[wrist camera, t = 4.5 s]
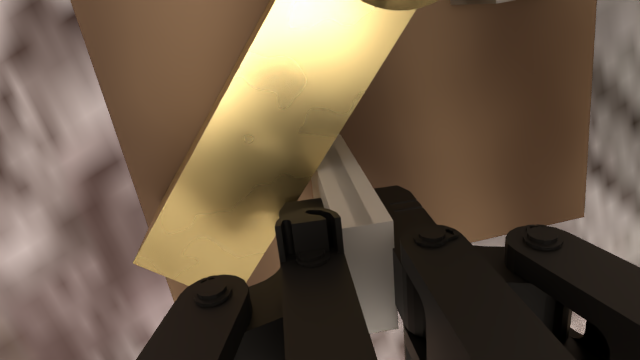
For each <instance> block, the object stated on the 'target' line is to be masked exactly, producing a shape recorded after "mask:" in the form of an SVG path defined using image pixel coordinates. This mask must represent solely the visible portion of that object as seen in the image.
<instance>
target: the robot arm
mask: <svg viewBox="0 0 640 360" xmlns="http://www.w3.org/2000/svg"><path fill="white" fill-rule="evenodd" d="M311 180H312V188H313V197H314V199H308V200H301V201H294V202H287V203H285V204H284V206H283V207H282V208H281V209H280V211H279V219H278V220H277V221H276V224H275V233H276V240H277V246H278V253H279V259H280V268H279V270H278V271H277V272H276V273H275V274H274V275H272V276H271V277H269V278H268V279H266V280H264V281H262V282H260V283H257V284H255V285H252V286H249V287H248V285H247V284H246V282H245V280H244V279H242V278H240V277H238V276H235V275H226V274H223V275H213V276H209V277H207V278H206V277H205V278H203V279H200V280H198V281H196V282H195V283H193V284H191V285H190V286H188V287H187V288H186V289H185V290H184V291H183V292H182V293H181V294H180V295H179V297H178V298H177V300H176V301H175V303H174V304H173V305H172V307H171V308H170V310H169V311H168V313H167V314H166V316H165V317H164V319H163V320H162V322H161V323H160V325H159V326H158V328H157V329H156V331H155V332H154V334H153V335H152V337H151V338H150V340H149V341H148V343H147V344H146V346H145V347H144V349H143V350H142V352H141V353H140V355H139V356H138V358H137V359H136V360H377V357H376V354H375V350H374V347H373V344H372V341H371V338H370V334H371V333H377V332H381V331H387V330H393V329H398V312H399V314H400V316H401V318H402V320H403V324H404V349H405V360H640V267H638V266H635V265H633V264H631V263H629V262H627V261H625V260H623V259H621V258H619V257H617V256H615V255H613V254H611V253H609V252H607V251H605V250H603V249H601V248H599V247H597V246H595V245H593V244H591V243H589V242H587V241H585V240H583V239H581V238H579V237H576V236H574V235H572V234H570V233H568V232H566V231H563V230H560V229H558V228H554V227H549V226H545V225H539V224H536V225H535V224H533V225H526V226H521V227H516V228H515V229H513V230H511V231H509V232H508V234H507V236H506V241H505V247H488V246H473V245H472V244H471V243H470V242H469V241H468V240H467V239H466V237H465V236H464V235H463V234H462V233H460V232H459V231H457V230H456V229H454V228H451V227H448V226H445V225H437V224H436V223H435V222H434V220H433V219H432V218H431V217H430V215H429V214H428V213H427V212H426V210H425V209H424V208H422V205H421V204H420V203H419V202H418V201H417V199H416V198H415V197H414V195H413V194H412V193H411V192H410V191H409V190H407V189H404V188H402V187H400V186H398V185H395V186H388V187H381V188H373V187H372V185H371V184H370V182H369V180H368V179H367V177H366V175H365V174H364V172H363V171H362V169H361V167H360V166H359V164H358V162H357V161H356V159H355V157H354V156H353V154H352V153H351V151H350V149H349V148H348V146H347V144H346V143H345V141H344V139H343V138H342V136H341V135H340V134H339V135H338V136H337V138H336V139H335V141H334V142H333V144H332V146H331V147H330V149H329V150H328V152H327V154H326V155H325V157H324V159H323V160H322V162H321V163H320V165H319V167H318V168H317V170H316V171H315V173H314V175H313V176H312V178H311ZM397 309H398V311H397ZM572 311H573V312H575V313H576V314H578V315H580V316H581V317H583V318H584V319H586V320H587V322H586V329H585V333H584V335H582V334H580V333H578V332H576V331H574V330H573V329H572V328H570V323H571V315H572Z"/></svg>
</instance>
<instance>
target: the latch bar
mask: <svg viewBox="0 0 640 360" xmlns="http://www.w3.org/2000/svg"><path fill="white" fill-rule="evenodd" d="M437 1H439V0H270V1H269V2H268V4H267V6H266V8H265V10H264V12H263V13H262V15H261V17H260V19H259V21H258V23H257V25H256V26H255V28H254V30H253V32H252V34H251V36H250V38H249V39H248V41H247V43H246V45H245V47H244V49H243V51H242V52H241V54H240V56H239V58H238V60H237V62H236V63H235V65H234V67H233V69H232V71H231V73H230V75H229V76H228V78H227V80H226V82H225V84H224V86H223V88H222V89H221V91H220V93H219V95H218V97H217V99H216V101H215V102H214V104H213V106H212V108H211V110H210V112H209V113H208V115H207V117H206V119H205V121H204V123H203V125H202V126H201V128H200V130H199V132H198V134H197V136H196V138H195V139H194V141H193V143H192V145H191V147H190V149H189V151H188V152H187V154H186V156H185V158H184V160H183V162H182V164H181V165H180V167H179V169H178V171H177V173H176V175H175V176H174V178H173V180H172V182H171V184H170V186H169V188H168V189H167V191H166V193H165V195H164V197H163V199H162V201H161V202H160V204H159V206H158V209H157V211H156V213H155V215H154V217H153V220H152V222H151V224H150V226H149V229H148V231H147V233H146V235H145V237H144V240H143V242H142V244H141V246H140V248H139V251H138V253H137V255H136V257H135V260H134V262H133V264H136V265H138V266H141V267H143V268H146V269H148V270H150V271H153V272H155V273H158V274H160V275H163V276H165V277H168V278H170V279H173V280H175V281H178V282H180V283H183V284H185V285H188V286H190V285H191V284H193V283H195V282H196V281H198V280H200V279H203V278H205V277H206V278H207V277H209V276H213V275H223V274H226V275H235V276H238V277H240V278H242V279H244V280H245V282H247V280H248V279H249V277H250V276H251V274H252V272H253V271H254V269H255V268H256V266H257V264H258V263H259V261H260V260H261V258H262V256H263V255H264V253H265V252H266V250H267V248H268V247H269V245H270V244H271V242H272V240H273V239H274V237H275V236H276V233H275V224H276V221H277V220H278V219H279V211H280V209H281V208H282V207H283V206H284V204H285V203H287V202H294V201H297V200H298V199H299V197H300V195H301V194H302V192H303V191H304V189H305V187H306V186H307V184H308V183H309V181H310V179H311V178H312V176H313V175H314V173H315V171H316V170H317V168H318V167H319V165H320V163H321V162H322V160H323V159H324V157H325V155H326V154H327V152H328V150H329V149H330V147H331V146H332V144H333V142H334V141H335V139H336V138H337V136H338V134H339V133H340V131H341V130H342V128H343V126H344V125H345V123H346V122H347V120H348V118H349V117H350V115H351V114H352V112H353V110H354V109H355V107H356V106H357V104H358V102H359V101H360V99H361V98H362V96H363V94H364V93H365V91H366V89H367V88H368V86H369V85H370V83H371V81H372V80H373V78H374V77H375V75H376V73H377V72H378V70H379V69H380V67H381V65H382V64H383V62H384V61H385V59H386V57H387V56H388V54H389V53H390V51H391V49H392V48H393V46H394V45H395V43H396V41H397V40H398V38H399V37H400V35H401V33H402V32H403V30H404V29H405V27H406V25H407V24H408V22H409V20H410V19H411V17H412V16H413V14H414V12H415V11H416V9H418V8H422V7H425V6H428V5H431V4H433V3H435V2H437Z"/></svg>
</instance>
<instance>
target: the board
mask: <svg viewBox="0 0 640 360" xmlns="http://www.w3.org/2000/svg"><path fill="white" fill-rule="evenodd" d="M269 1H270V0H71V3H72V6H73V9H74V12H75V15H76V18H77V21H78V24H79V27H80V29H81V32H82V35H83V38H84V41H85V44H86V47H87V50H88V53H89V56H90V59H91V61H92V64H93V67H94V70H95V73H96V76H97V79H98V82H99V85H100V88H101V91H102V93H103V96H104V99H105V102H106V105H107V108H108V111H109V114H110V117H111V120H112V123H113V125H114V128H115V131H116V134H117V137H118V140H119V143H120V146H121V149H122V152H123V155H124V157H125V160H126V163H127V166H128V169H129V172H130V175H131V178H132V181H133V184H134V187H135V189H136V192H137V195H138V198H139V201H140V204H141V207H142V210H143V213H144V216H145V219H146V221H147V224H148V227H149V226H150V224H151V222H152V220H153V217H154V215H155V213H156V211H157V209H158V206H159V204H160V202H161V201H162V199H163V197H164V195H165V193H166V191H167V189H168V188H169V186H170V184H171V182H172V180H173V178H174V176H175V175H176V173H177V171H178V169H179V167H180V165H181V164H182V162H183V160H184V158H185V156H186V154H187V152H188V151H189V149H190V147H191V145H192V143H193V141H194V139H195V138H196V136H197V134H198V132H199V130H200V128H201V126H202V125H203V123H204V121H205V119H206V117H207V115H208V113H209V112H210V110H211V108H212V106H213V104H214V102H215V101H216V99H217V97H218V95H219V93H220V91H221V89H222V88H223V86H224V84H225V82H226V80H227V78H228V76H229V75H230V73H231V71H232V69H233V67H234V65H235V63H236V62H237V60H238V58H239V56H240V54H241V52H242V51H243V49H244V47H245V45H246V43H247V41H248V39H249V38H250V36H251V34H252V32H253V30H254V28H255V26H256V25H257V23H258V21H259V19H260V17H261V15H262V13H263V12H264V10H265V8H266V6H267V4H268V2H269ZM596 5H597V0H439V1H437V2H435V3H433V4H431V5H428V6H425V7H422V8H418V9H416V11H415V12H414V14H413V16H412V17H411V19H410V20H409V22H408V24H407V25H406V27H405V29H404V30H403V32H402V33H401V35H400V37H399V38H398V40H397V41H396V43H395V45H394V46H393V48H392V49H391V51H390V53H389V54H388V56H387V57H386V59H385V61H384V62H383V64H382V65H381V67H380V69H379V70H378V72H377V73H376V75H375V77H374V78H373V80H372V81H371V83H370V85H369V86H368V88H367V89H366V91H365V93H364V94H363V96H362V98H361V99H360V101H359V102H358V104H357V106H356V107H355V109H354V110H353V112H352V114H351V115H350V117H349V118H348V120H347V122H346V123H345V125H344V126H343V128H342V130H341V131H340V133H339V134H340V135H341V136H342V138H343V139H344V141H345V143H346V144H347V146H348V148H349V149H350V151H351V153H352V154H353V156H354V157H355V159H356V161H357V162H358V164H359V166H360V167H361V169H362V171H363V172H364V174H365V175H366V177H367V179H368V180H369V182H370V184H371V185H372V187H373V188H381V187H388V186H395V185H398V186H400V187H402V188H404V189H407V190H409V191H410V192H411V193H412V194H413V195H414V197H415V198H416V199H417V201H418V202H419V203H420V204H421V205H422V208H424V209H425V210H426V212H427V213H428V214H429V215H430V217H431V218H432V219H433V220H434V222H435V223H436V224H437V225H445V226H448V227H451V228H454V229H456V230H457V231H459V232H460V233H462V234H463V235H464V236H465V237H466V239H467V240H468V241H469V242H470V243H471V242H475V241H480V240H484V239H489V238H493V237H497V236H502V235H506V234H508V232H509V231H511V230H513V229H515V228H516V227H521V226H526V225H533V224H535V225H536V224H539V225H545V226H546V225H550V224H555V223H559V222H564V221H568V220H572V219H577V218H581V217H584V209H585V192H586V175H587V158H588V141H589V124H590V107H591V90H592V73H593V56H594V39H595V22H596ZM339 134H338V135H339ZM308 199H314V197H313V188H312V180H311V179H310V181H309V183H308V184H307V186H306V187H305V189H304V191H303V192H302V194H301V195H300V197H299V199H298V200H297V201H301V200H308ZM279 268H280V259H279V253H278V246H277V240H276V236H275V237H274V239H273V240H272V242H271V244H270V245H269V247H268V248H267V250H266V252H265V253H264V255H263V256H262V258H261V260H260V261H259V263H258V264H257V266H256V268H255V269H254V271H253V272H252V274H251V276H250V277H249V279H248V280H247V282H246V284H247V285H248V287H249V286H252V285H255V284H257V283H260V282H262V281H264V280H266V279H268V278H269V277H271V276H272V275H274V274H275V273H276V272H277V271H278V270H279ZM166 280H167V283H168V285H169V288H170V291H171V294H172V297H173V300H174V303H175V301H176V300H177V298H178V297H179V295H180V294H181V293H182V292H183V291H184V290H185V289H186V288H187V287H188V285H185V284H183V283H180V282H178V281H175V280H173V279H170V278H168V277H166Z"/></svg>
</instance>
